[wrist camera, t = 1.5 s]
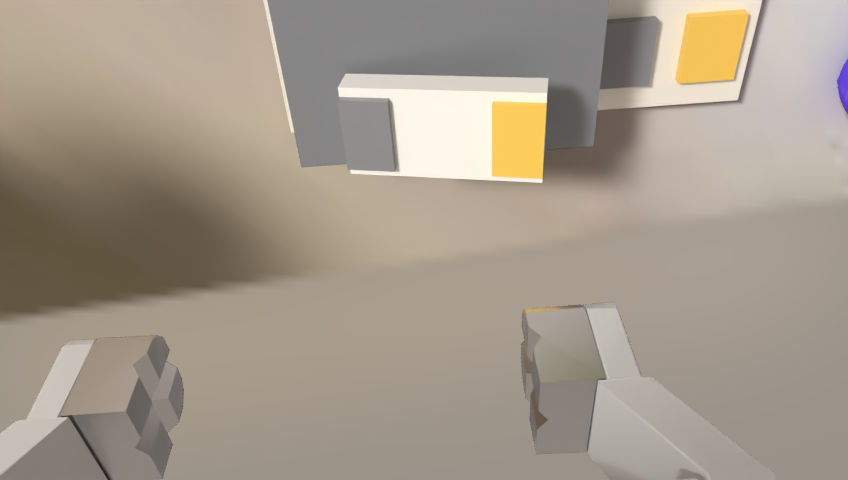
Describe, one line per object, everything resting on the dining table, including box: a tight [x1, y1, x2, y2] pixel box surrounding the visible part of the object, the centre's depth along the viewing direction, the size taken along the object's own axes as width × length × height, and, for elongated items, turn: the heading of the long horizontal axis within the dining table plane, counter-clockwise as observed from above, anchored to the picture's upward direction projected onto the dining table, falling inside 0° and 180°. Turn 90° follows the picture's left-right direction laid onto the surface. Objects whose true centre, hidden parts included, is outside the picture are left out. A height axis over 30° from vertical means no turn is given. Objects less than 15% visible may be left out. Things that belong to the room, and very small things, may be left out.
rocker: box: [337, 74, 548, 183], centre depth 28 cm, size 8×4×2 cm, turn 94°
